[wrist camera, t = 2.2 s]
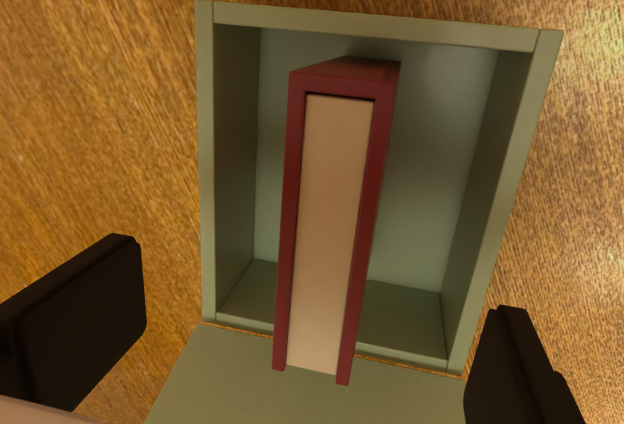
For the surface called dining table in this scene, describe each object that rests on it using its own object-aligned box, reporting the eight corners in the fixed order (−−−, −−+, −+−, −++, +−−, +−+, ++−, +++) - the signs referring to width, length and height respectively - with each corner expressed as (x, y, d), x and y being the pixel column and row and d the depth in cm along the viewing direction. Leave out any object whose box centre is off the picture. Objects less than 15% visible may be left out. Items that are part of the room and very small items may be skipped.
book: (343, 55, 22) (288, 70, 12) (401, 61, 21) (396, 82, 11) (323, 243, 26) (270, 369, 16) (371, 251, 26) (348, 387, 16)
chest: (252, 9, 23) (193, -1, 16) (518, 32, 20) (565, 30, 14) (245, 261, 29) (201, 321, 23) (449, 298, 27) (461, 377, 20)
